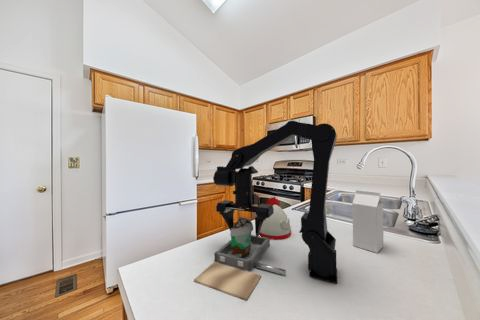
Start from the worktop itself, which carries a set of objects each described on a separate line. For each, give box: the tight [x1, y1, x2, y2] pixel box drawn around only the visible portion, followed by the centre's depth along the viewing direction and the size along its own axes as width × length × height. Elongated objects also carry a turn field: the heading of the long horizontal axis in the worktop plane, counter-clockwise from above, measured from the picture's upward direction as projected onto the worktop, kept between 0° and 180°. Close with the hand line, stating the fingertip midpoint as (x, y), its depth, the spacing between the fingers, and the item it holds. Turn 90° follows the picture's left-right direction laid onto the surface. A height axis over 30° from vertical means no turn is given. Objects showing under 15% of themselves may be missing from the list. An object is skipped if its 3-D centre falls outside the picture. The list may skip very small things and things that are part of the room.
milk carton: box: [352, 189, 385, 254], centre depth 64 cm, size 7×7×19 cm
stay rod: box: [253, 261, 287, 276], centre depth 52 cm, size 10×1×1 cm, turn 63°
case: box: [214, 234, 271, 272], centre depth 61 cm, size 12×17×2 cm
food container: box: [229, 216, 254, 259], centre depth 61 cm, size 12×6×10 cm, turn 168°
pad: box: [193, 261, 262, 302], centre depth 48 cm, size 15×9×1 cm, turn 63°
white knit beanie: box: [259, 196, 292, 241], centre depth 77 cm, size 14×14×15 cm
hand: (244, 234), depth 61 cm, fingers open, 9 cm apart
